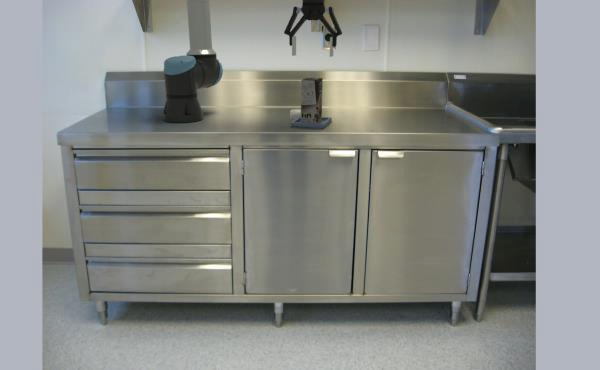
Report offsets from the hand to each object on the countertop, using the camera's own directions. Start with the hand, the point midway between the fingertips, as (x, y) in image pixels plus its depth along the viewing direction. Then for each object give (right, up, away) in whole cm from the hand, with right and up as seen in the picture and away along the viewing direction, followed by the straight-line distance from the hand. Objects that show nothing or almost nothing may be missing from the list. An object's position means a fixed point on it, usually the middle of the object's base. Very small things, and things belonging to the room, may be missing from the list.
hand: (312, 56), depth 176 cm
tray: (0, -23, +7) cm, 25 cm away
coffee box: (0, -23, +7) cm, 24 cm away
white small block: (-5, -20, +19) cm, 28 cm away
